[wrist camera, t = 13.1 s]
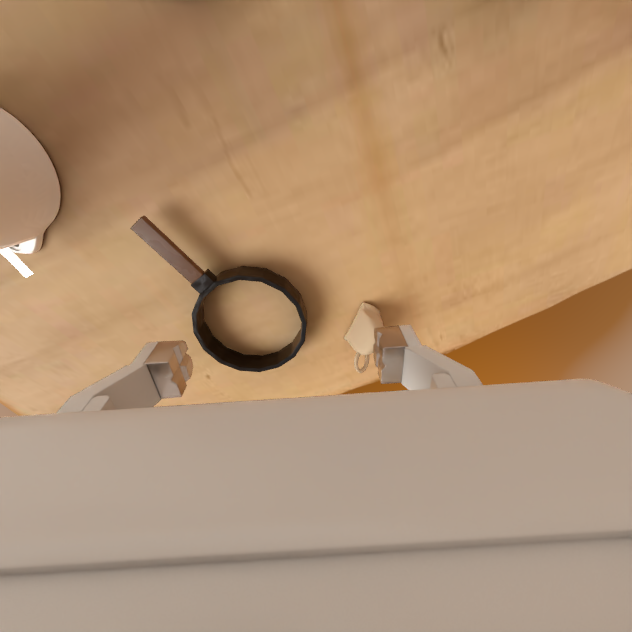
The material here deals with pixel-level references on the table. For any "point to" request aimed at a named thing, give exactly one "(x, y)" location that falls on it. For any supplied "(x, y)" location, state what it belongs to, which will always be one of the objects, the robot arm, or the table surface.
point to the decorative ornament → (364, 333)
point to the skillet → (209, 282)
